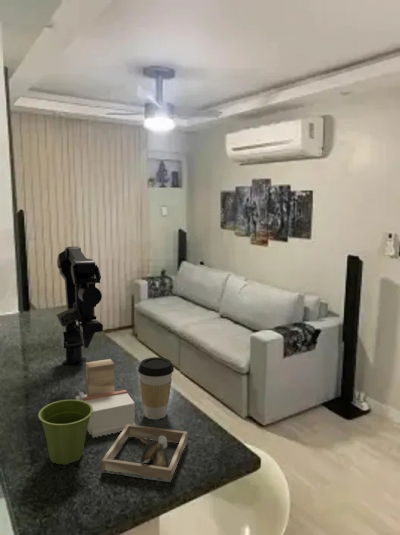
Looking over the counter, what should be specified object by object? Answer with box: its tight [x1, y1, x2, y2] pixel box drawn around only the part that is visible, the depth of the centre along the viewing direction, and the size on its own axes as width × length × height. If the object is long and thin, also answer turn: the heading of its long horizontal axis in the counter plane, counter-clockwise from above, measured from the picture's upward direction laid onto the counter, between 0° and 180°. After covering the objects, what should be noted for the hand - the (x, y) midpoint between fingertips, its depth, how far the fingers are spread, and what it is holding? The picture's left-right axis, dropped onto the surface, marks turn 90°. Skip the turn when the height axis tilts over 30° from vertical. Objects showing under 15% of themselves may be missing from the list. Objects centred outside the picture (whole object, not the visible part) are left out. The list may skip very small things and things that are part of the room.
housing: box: [75, 389, 136, 439], centre depth 117 cm, size 22×12×6 cm, turn 27°
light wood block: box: [85, 358, 115, 397], centre depth 120 cm, size 5×7×12 cm, turn 117°
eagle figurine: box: [138, 435, 169, 468], centre depth 95 cm, size 8×7×9 cm
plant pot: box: [37, 399, 93, 465], centre depth 96 cm, size 12×12×11 cm
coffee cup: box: [137, 356, 175, 420], centre depth 117 cm, size 10×10×15 cm
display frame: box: [101, 424, 188, 480], centre depth 98 cm, size 16×16×3 cm
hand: (86, 347), depth 135 cm, fingers closed
